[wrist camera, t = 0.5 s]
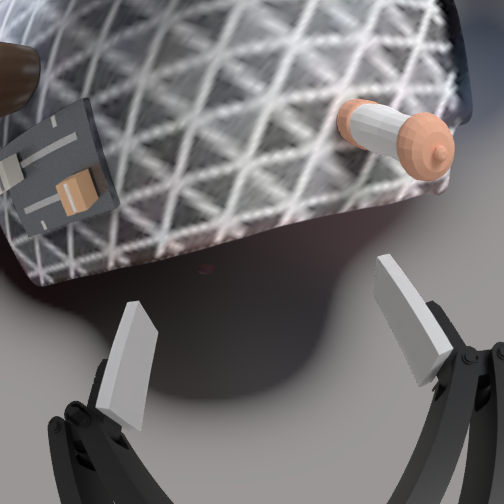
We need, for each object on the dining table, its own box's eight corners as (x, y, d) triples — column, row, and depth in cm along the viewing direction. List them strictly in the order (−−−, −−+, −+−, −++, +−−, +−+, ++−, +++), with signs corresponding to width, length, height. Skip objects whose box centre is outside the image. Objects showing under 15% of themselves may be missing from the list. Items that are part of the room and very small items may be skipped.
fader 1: (3, 161, 29) (-12, 170, 25) (16, 153, 29) (0, 161, 25) (12, 186, 31) (-3, 196, 28) (24, 179, 31) (9, 188, 28)
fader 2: (68, 176, 33) (54, 186, 29) (88, 168, 33) (74, 178, 29) (79, 205, 35) (66, 217, 32) (98, 198, 35) (86, 210, 32)
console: (3, 149, 30) (-4, 153, 28) (89, 97, 29) (81, 98, 27) (33, 231, 39) (28, 237, 38) (120, 203, 39) (115, 209, 37)
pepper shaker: (329, 107, 33) (406, 127, 17) (371, 93, 32) (461, 109, 16) (346, 151, 37) (420, 202, 21) (385, 137, 35) (470, 178, 19)
